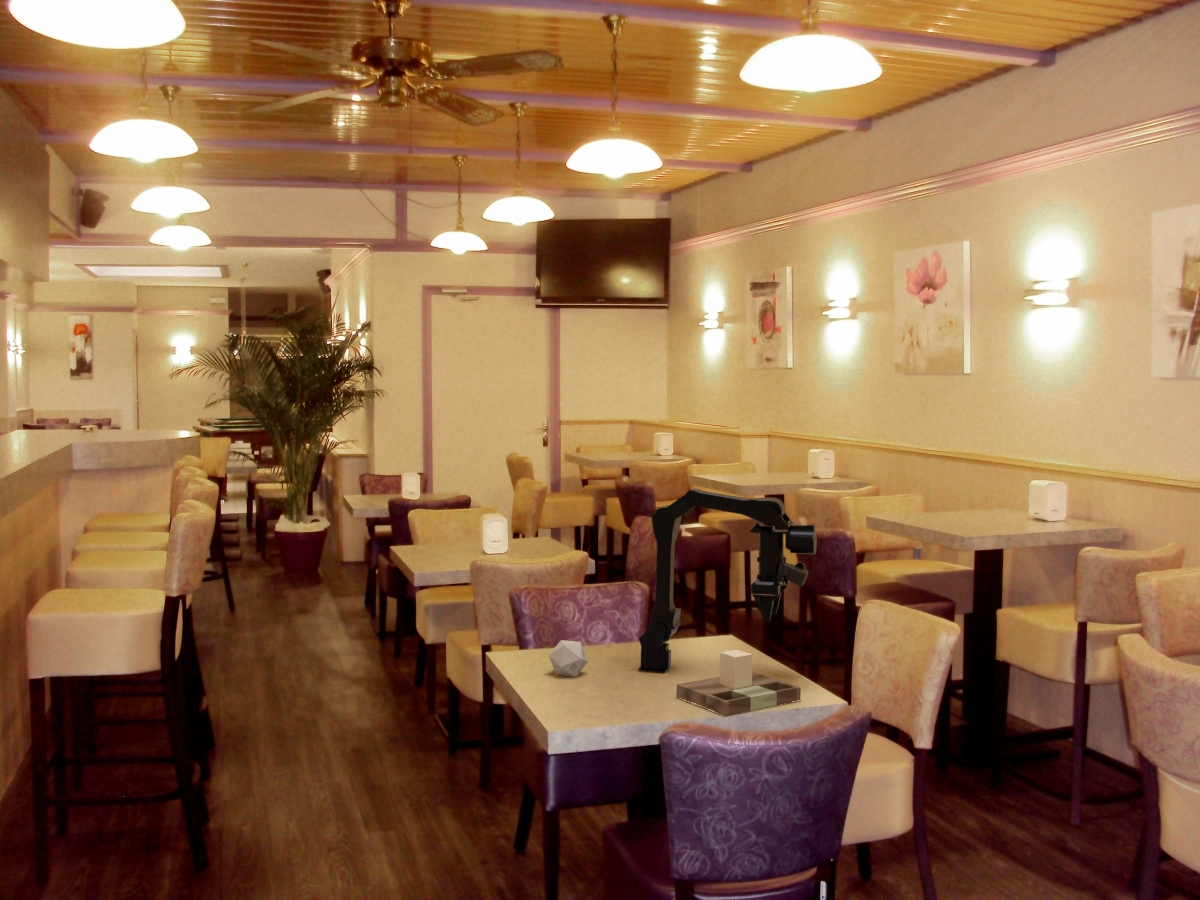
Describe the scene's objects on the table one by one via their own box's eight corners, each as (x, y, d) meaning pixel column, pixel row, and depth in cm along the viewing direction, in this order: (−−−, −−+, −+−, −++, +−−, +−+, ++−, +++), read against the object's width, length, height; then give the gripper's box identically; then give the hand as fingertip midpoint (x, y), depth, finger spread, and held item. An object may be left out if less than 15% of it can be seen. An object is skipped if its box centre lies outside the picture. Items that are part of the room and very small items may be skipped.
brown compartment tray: (676, 697, 240) (676, 684, 240) (750, 683, 252) (750, 671, 252) (724, 716, 227) (725, 702, 226) (800, 700, 239) (800, 687, 239)
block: (719, 683, 241) (720, 652, 240) (736, 680, 244) (737, 649, 243) (734, 689, 237) (735, 657, 236) (751, 685, 239) (752, 654, 239)
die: (563, 684, 252) (588, 650, 252) (536, 661, 255) (562, 628, 256) (574, 688, 259) (599, 655, 260) (549, 665, 263) (573, 634, 263)
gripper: (800, 559, 242) (799, 629, 243) (811, 548, 260) (810, 613, 261) (750, 557, 246) (750, 625, 247) (764, 546, 264) (764, 610, 264)
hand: (770, 618), depth 254 cm, fingers open, 9 cm apart
